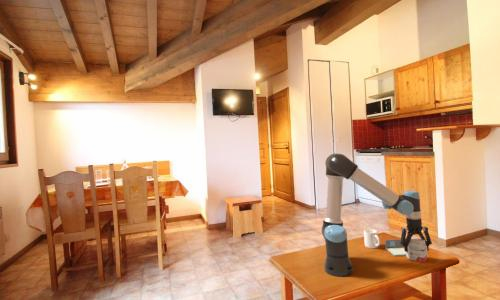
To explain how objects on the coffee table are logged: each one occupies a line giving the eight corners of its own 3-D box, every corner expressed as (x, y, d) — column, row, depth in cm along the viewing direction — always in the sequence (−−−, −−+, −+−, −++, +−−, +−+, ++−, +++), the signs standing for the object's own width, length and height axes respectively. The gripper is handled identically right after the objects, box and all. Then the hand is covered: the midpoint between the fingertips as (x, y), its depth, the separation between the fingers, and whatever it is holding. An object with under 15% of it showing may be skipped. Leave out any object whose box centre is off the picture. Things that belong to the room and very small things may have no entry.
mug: (385, 249, 169) (384, 233, 169) (375, 251, 167) (373, 235, 167) (372, 243, 181) (370, 228, 181) (362, 245, 178) (360, 230, 179)
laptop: (394, 256, 157) (393, 246, 158) (385, 249, 169) (384, 240, 170) (422, 254, 156) (421, 245, 156) (411, 247, 168) (410, 238, 168)
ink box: (427, 260, 149) (425, 239, 149) (424, 262, 146) (422, 241, 146) (410, 256, 156) (408, 236, 156) (407, 258, 153) (405, 238, 153)
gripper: (397, 220, 148) (400, 260, 148) (437, 218, 147) (441, 258, 146) (391, 217, 156) (394, 255, 155) (429, 215, 154) (432, 253, 154)
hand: (417, 256), depth 151 cm, fingers closed on ink box, 9 cm apart
